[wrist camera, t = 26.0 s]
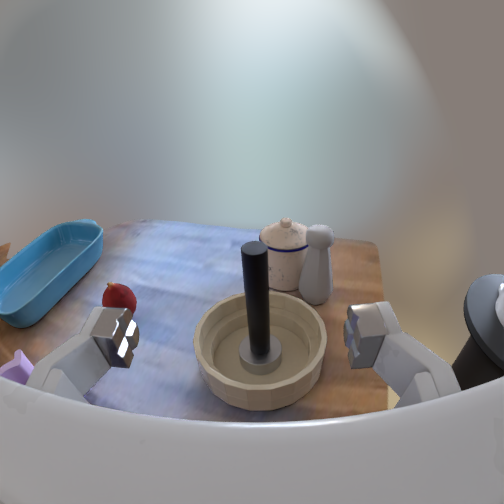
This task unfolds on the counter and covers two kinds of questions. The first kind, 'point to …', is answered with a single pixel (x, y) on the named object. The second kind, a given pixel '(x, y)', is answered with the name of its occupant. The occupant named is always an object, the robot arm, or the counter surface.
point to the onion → (119, 297)
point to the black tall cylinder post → (258, 313)
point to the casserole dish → (47, 270)
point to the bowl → (281, 326)
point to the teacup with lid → (285, 253)
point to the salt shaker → (317, 265)
